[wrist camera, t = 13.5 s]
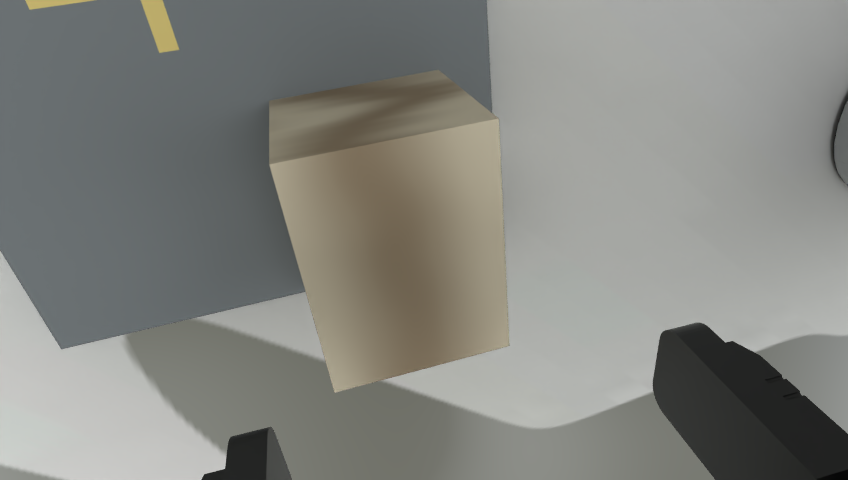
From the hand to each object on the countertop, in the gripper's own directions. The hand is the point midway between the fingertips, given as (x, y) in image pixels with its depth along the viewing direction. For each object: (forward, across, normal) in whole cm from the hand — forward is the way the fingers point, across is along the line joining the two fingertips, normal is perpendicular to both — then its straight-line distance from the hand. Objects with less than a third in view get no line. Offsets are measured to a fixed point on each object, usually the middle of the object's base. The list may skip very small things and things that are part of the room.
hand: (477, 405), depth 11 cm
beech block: (+12, 0, 0) cm, 12 cm away
